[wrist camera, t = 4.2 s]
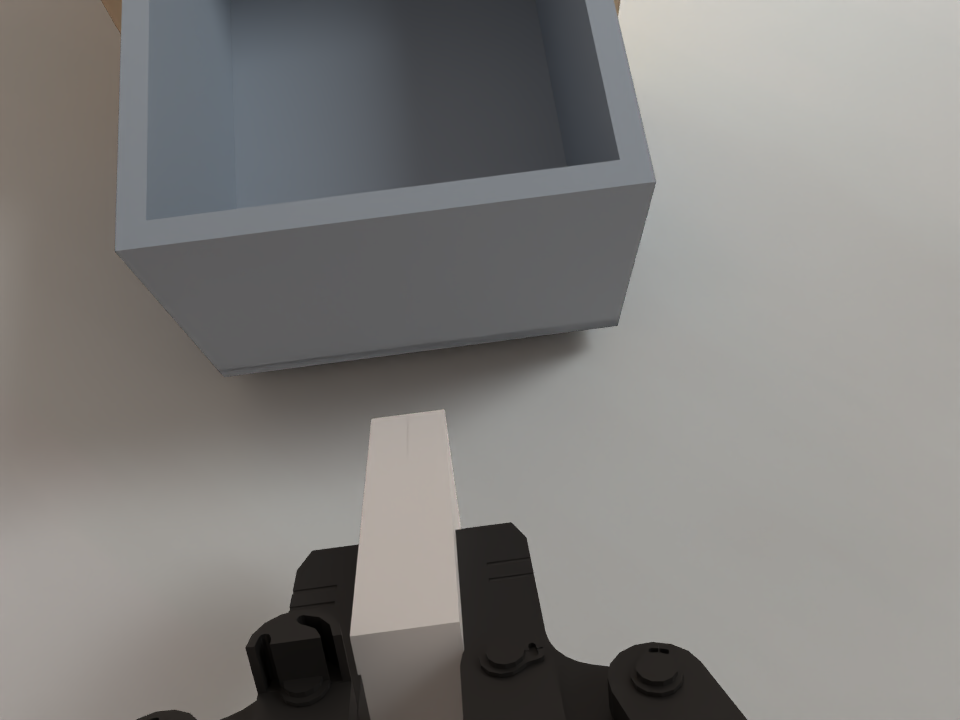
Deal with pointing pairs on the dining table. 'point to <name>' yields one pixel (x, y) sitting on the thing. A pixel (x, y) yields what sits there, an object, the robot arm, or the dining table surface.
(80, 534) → the dining table surface
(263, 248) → the drawer tray
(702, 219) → the dining table surface
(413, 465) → the robot arm
